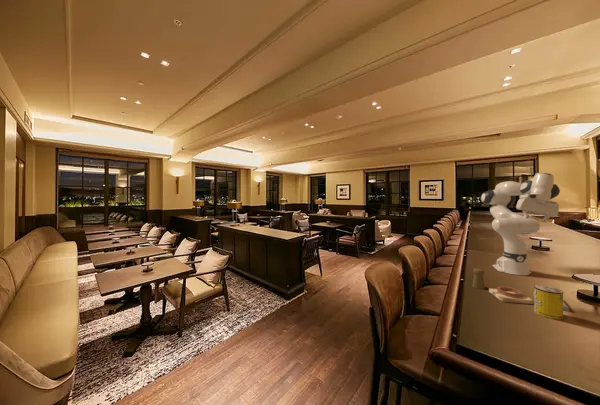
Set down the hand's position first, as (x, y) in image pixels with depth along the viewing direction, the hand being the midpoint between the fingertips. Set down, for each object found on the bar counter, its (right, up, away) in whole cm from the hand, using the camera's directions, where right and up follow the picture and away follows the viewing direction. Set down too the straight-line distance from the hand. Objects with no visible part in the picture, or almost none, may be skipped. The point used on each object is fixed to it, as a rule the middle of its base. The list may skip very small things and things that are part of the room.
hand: (534, 220), depth 138 cm
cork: (-35, -41, -1) cm, 54 cm away
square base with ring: (-30, -41, -15) cm, 53 cm away
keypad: (-15, -41, -22) cm, 49 cm away
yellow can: (-28, -41, -33) cm, 60 cm away
